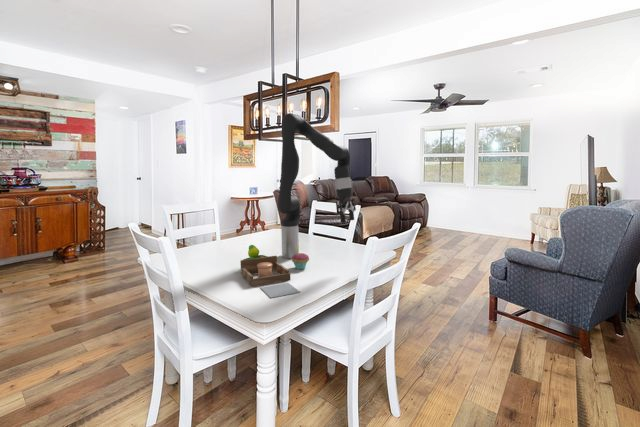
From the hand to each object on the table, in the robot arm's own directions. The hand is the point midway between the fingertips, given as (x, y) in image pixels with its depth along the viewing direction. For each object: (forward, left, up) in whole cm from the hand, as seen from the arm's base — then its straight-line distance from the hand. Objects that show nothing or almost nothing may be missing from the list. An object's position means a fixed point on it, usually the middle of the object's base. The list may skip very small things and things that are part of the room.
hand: (347, 221), depth 161 cm
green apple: (-20, -40, -23) cm, 50 cm away
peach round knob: (-4, -41, -22) cm, 47 cm away
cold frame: (-4, -41, -22) cm, 47 cm away
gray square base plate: (+14, -41, -22) cm, 49 cm away
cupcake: (-10, -21, -23) cm, 32 cm away
